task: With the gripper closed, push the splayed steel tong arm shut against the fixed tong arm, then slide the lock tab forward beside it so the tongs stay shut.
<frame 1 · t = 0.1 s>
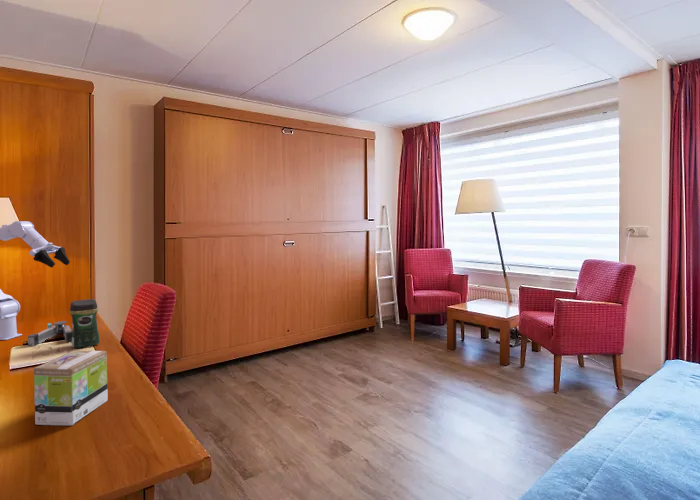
hand: (61, 264, 176), 32 cm above the table, tool tilted 50°, fingers open, 7 cm apart
tea box: (74, 413, 113), on the table
tong arm: (48, 333, 180), point 3 cm above the table, hinge at 30.0°
lock tab: (49, 328, 188), point 2 cm above the table, slide at 0.0 cm
tongs base: (61, 333, 189), on the table
coffee jar: (85, 345, 171), on the table
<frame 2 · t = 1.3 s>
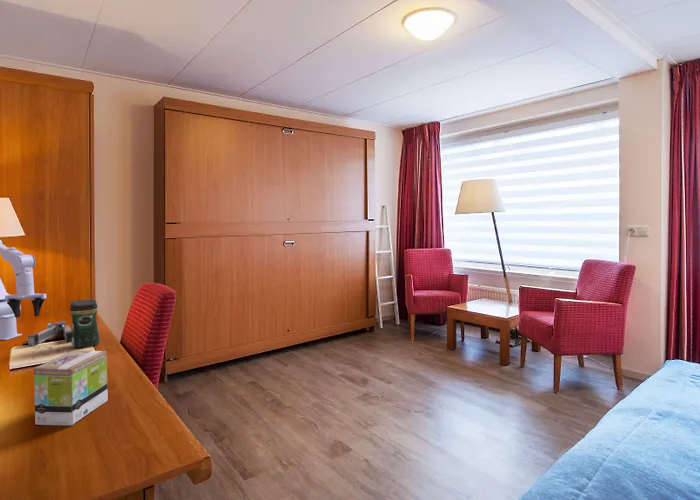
hand: (27, 316, 176), 10 cm above the table, tool pointing down, fingers open, 7 cm apart
nothing on the table moved.
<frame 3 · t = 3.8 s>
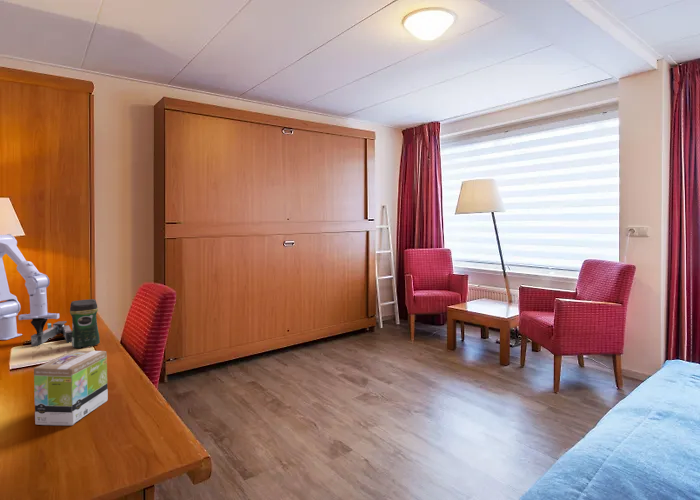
hand: (40, 336, 177), 2 cm above the table, tool pointing down, fingers closed, pressing on tong arm
tong arm: (50, 332, 180), point 3 cm above the table, hinge at 26.2°, touching gripper
everything else where it was.
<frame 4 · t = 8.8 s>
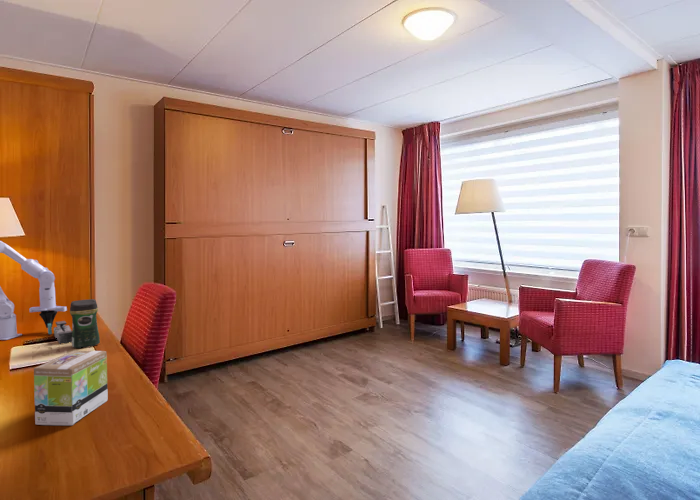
hand: (49, 327, 191), 2 cm above the table, tool pointing down, fingers closed
tong arm: (62, 331, 182), point 3 cm above the table, hinge at -3.1°
lock tab: (49, 328, 188), point 2 cm above the table, slide at 0.4 cm, touching gripper
everything else where it was.
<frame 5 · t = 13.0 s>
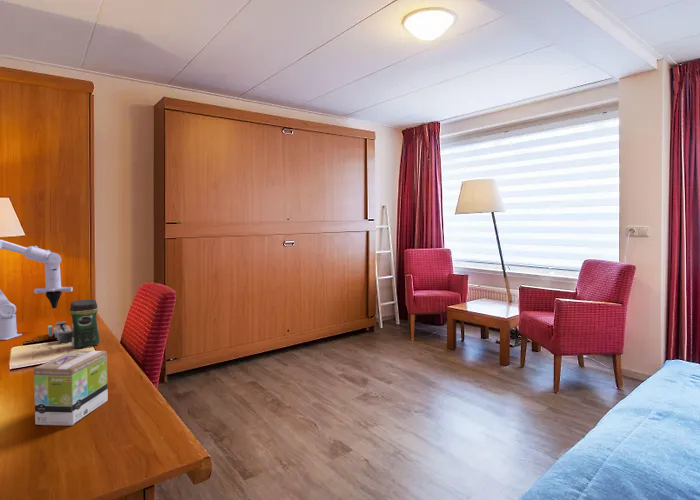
hand: (54, 307, 195), 10 cm above the table, tool pointing down, fingers closed
lock tab: (50, 330, 185), point 2 cm above the table, slide at 4.6 cm
everything else where it was.
at the end: tong arm at -3° (first picture: +30°); lock tab slide at 4.6 cm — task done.
